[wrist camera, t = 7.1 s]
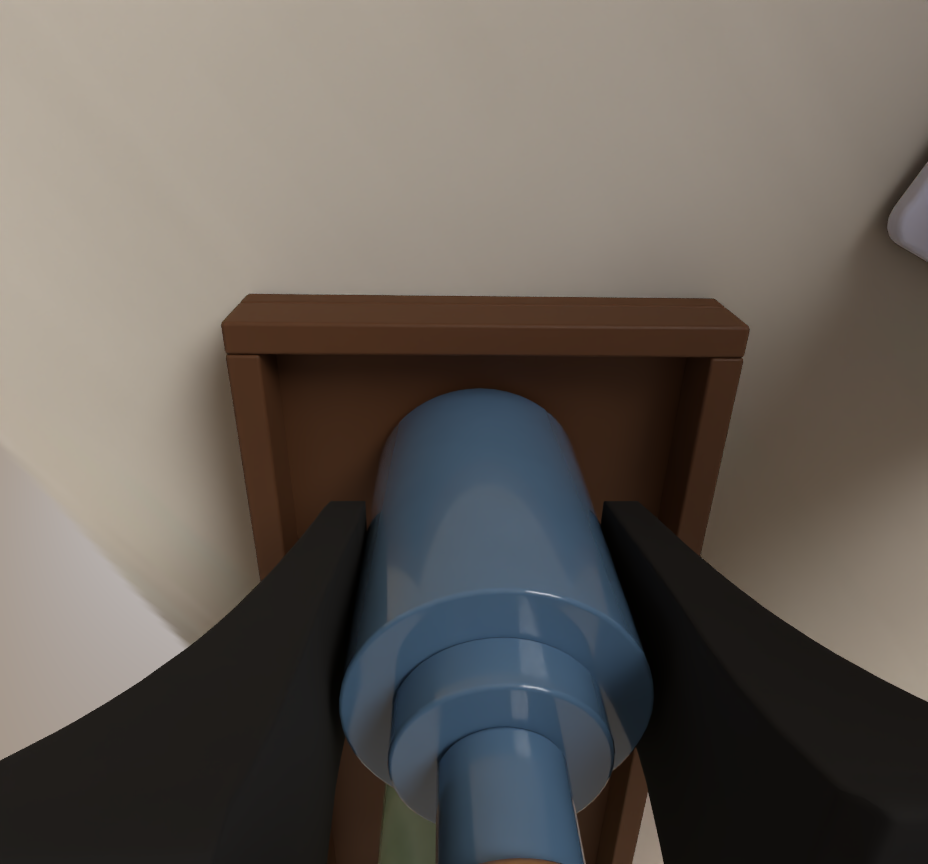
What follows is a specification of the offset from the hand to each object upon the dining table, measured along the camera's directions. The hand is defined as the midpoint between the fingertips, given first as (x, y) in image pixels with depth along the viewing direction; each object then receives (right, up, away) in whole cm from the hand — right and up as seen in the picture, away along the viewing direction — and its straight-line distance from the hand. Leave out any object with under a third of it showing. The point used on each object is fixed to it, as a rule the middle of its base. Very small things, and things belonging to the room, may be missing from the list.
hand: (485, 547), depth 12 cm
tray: (0, -5, +6) cm, 8 cm away
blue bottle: (0, +1, +2) cm, 2 cm away
